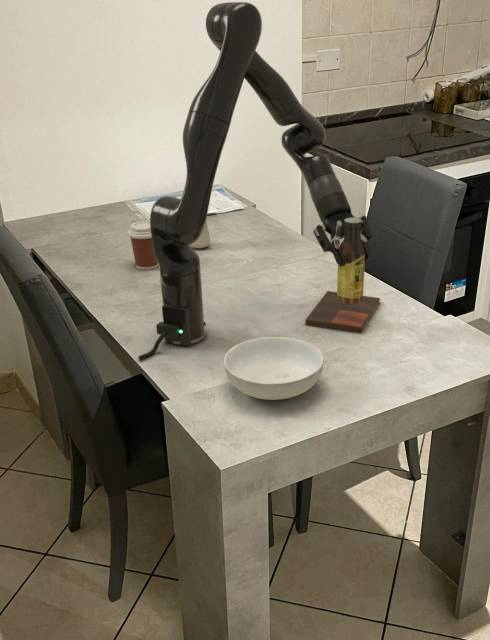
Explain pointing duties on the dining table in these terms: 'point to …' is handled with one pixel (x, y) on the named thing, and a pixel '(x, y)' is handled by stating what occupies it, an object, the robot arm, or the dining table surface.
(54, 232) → the dining table surface
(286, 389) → the serving bowl
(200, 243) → the plastic bottle
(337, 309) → the walnut board
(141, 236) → the coffee cup
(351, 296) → the sauce bottle
